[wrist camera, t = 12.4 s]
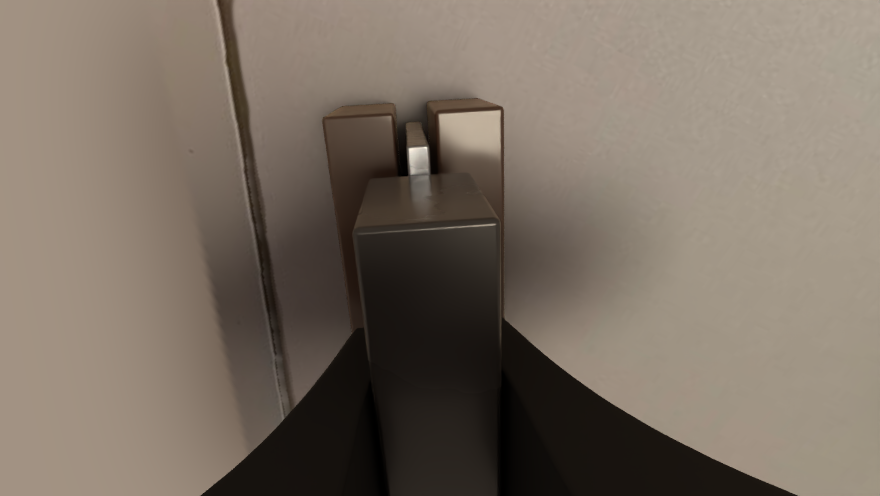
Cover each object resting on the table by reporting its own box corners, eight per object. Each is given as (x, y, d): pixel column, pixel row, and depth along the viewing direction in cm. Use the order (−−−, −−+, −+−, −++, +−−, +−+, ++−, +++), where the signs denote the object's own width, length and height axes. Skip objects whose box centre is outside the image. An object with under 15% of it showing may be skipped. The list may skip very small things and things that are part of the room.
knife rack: (379, 419, 15) (374, 497, 13) (339, 106, 12) (321, 117, 9) (486, 409, 16) (505, 483, 13) (480, 97, 12) (504, 105, 9)
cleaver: (405, 412, 15) (406, 666, 8) (377, 123, 12) (344, 187, 5) (461, 407, 15) (503, 655, 9) (449, 119, 12) (502, 176, 5)
